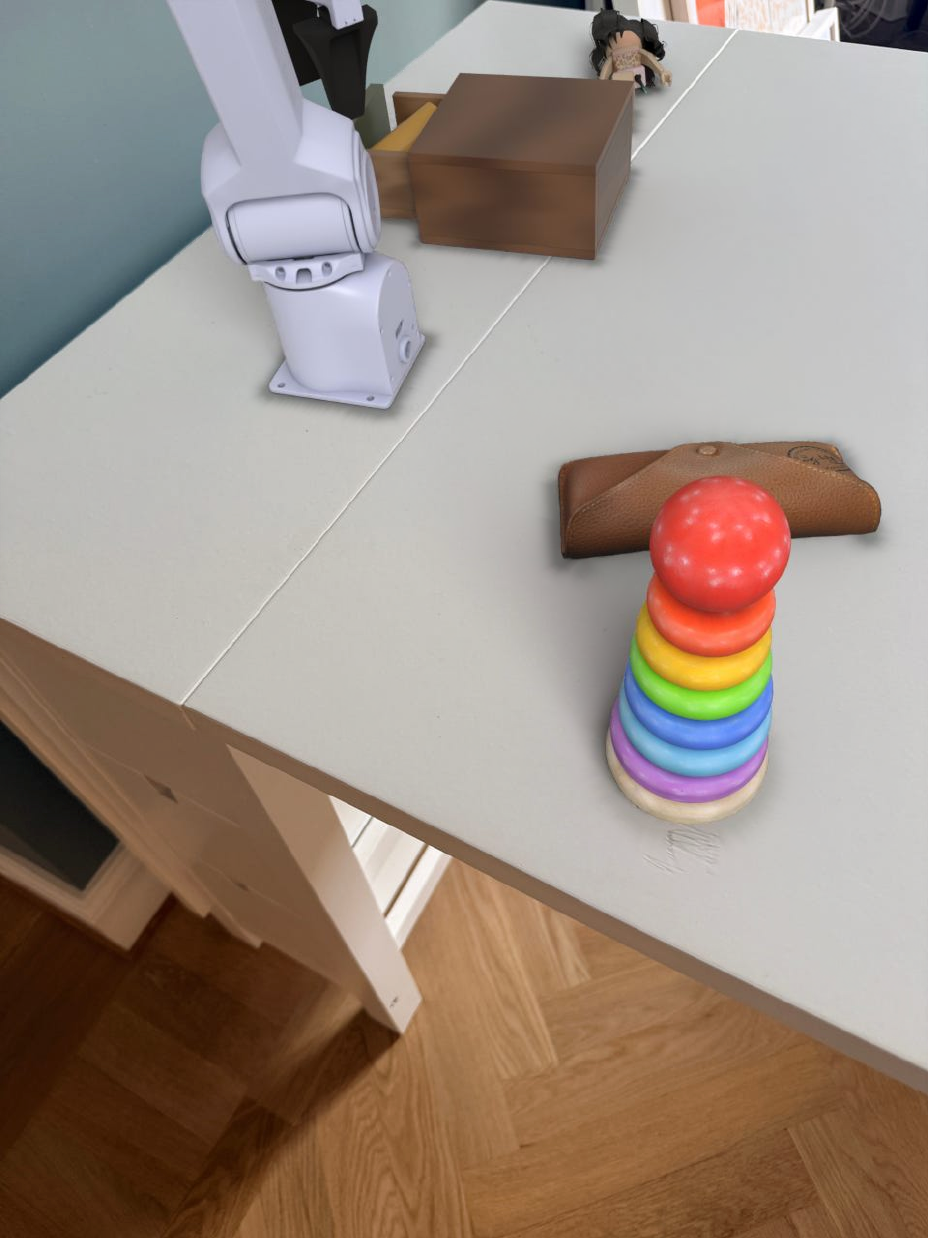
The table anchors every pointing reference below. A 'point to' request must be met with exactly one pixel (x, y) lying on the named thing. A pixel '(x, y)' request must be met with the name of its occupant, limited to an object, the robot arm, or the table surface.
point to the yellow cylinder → (406, 130)
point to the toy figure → (627, 50)
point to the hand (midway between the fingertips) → (329, 98)
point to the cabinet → (523, 163)
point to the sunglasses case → (643, 481)
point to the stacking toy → (702, 655)
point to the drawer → (391, 164)
